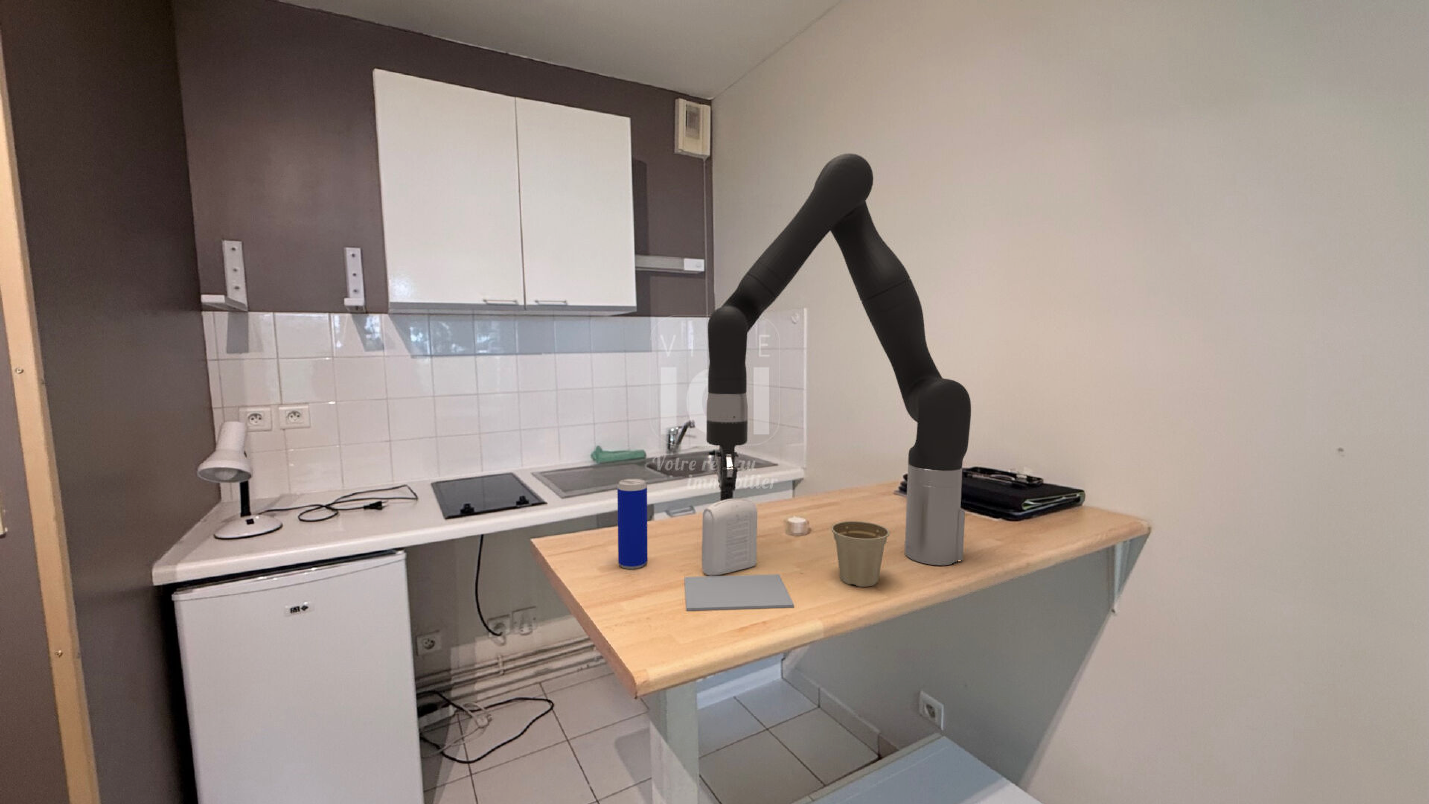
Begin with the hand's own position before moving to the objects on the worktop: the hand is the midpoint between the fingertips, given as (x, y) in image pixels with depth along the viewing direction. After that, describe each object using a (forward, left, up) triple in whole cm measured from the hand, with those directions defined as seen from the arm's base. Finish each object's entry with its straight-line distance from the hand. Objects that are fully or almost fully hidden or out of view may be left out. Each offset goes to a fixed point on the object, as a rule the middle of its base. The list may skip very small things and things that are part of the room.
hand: (726, 510), depth 100 cm
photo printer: (0, +6, -9) cm, 11 cm away
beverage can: (+17, +4, -9) cm, 19 cm away
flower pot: (-21, +12, -9) cm, 26 cm away
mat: (0, +16, -8) cm, 18 cm away
